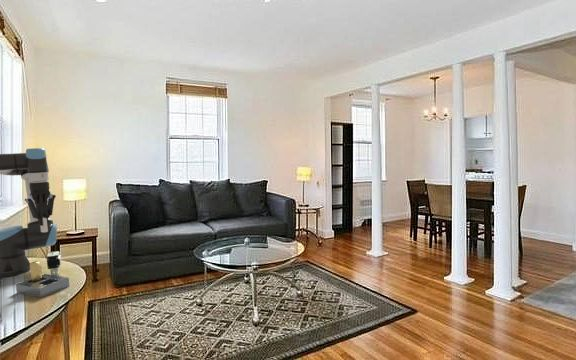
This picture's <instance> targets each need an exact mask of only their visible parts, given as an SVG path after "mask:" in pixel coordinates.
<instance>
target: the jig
mask: <svg viewBox="0 0 576 360" xmlns="http://www.w3.org/2000/svg"><path fill="white" fill-rule="evenodd" d="M69 279H70V278H69V277H67V276H61V275H56V276H55V275H51V274H47V273H44V274H42V280H41V281H38V282H36V283H32V282H31V278H29V279H28V280H24V281H21V282H18V283H15V290H16V294H21V295H24V296H25V295H26V296H31V297H35V298H36V297H37V298H43V297H45V296H48V295H51V294H53V293H55V292H56V293H57V292H58V291H60V290H63V289H66V288H68V287H70V280H69Z"/></svg>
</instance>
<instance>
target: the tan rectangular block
mask: <svg viewBox="0 0 576 360" xmlns="http://www.w3.org/2000/svg"><path fill="white" fill-rule="evenodd" d="M41 263H42V262H41V261H39V260H38V261H32V262H30V270H29V272H30V279H31V282H32V283H36V282H38V281H41V280H42V275H43V274H42V273H43V272H42V264H41Z"/></svg>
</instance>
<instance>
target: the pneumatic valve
mask: <svg viewBox="0 0 576 360" xmlns="http://www.w3.org/2000/svg"><path fill="white" fill-rule="evenodd" d="M61 253H62V252H60V251H59V250H56V251H49V252H48V253H47V255H46V265H47V270H49V272H50V275H55V276H60V269H59V268H60V266H61V263H62V261H63V259H62V254H61Z"/></svg>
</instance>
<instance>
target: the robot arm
mask: <svg viewBox="0 0 576 360" xmlns="http://www.w3.org/2000/svg"><path fill="white" fill-rule="evenodd" d="M49 171H50V170H49V165H48V162H47V152H46V149H45V148H44V147H37V148H34V147H33V148H26V149H25V152H19V153H16V152H15V153H0V175H3V176H21V177H20V178H21V179H22V180H23V181H24V182H25V192H26V198H25V199H24V201H25V203H27V207H28V213H29V222H27V224H26V226H27V227H23V226H22V225H13V226H10V227H6V228H2V229H0V278H8V277H14V276H17V275H21V274H25V273H27V272H30V263H31V262H30V260H29V259H28V256H26V251H27V250H28V251H29V250H34V249H41V248H47V247H51V246H54V245H55V244H56V243H57V237H58V233H57V232H58V227H57V223H56V222H55V223H54V221H53V219H51V218H50V216H53V211H54V204H55V203H54V202H55V199H56V197H57V196H56V194H53V193H51V191H50V182H49Z"/></svg>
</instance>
